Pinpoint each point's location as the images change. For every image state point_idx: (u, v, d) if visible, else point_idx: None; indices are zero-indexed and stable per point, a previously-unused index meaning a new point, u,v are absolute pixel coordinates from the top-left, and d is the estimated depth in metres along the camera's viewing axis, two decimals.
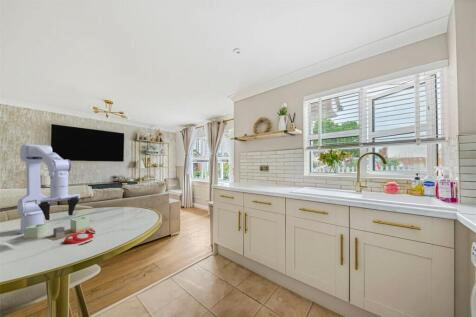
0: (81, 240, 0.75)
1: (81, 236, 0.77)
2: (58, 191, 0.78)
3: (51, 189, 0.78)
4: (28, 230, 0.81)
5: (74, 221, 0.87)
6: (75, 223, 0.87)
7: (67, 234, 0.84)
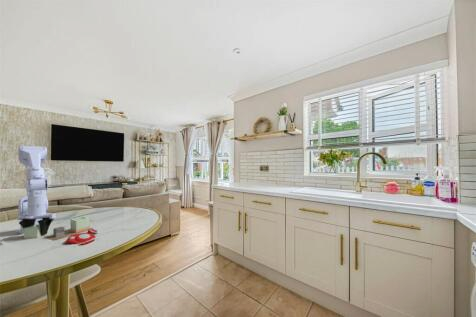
0: (83, 240, 0.75)
1: (83, 236, 0.77)
2: (28, 210, 0.81)
3: None
4: (28, 230, 0.81)
5: (74, 221, 0.87)
6: (75, 223, 0.87)
7: (67, 234, 0.84)
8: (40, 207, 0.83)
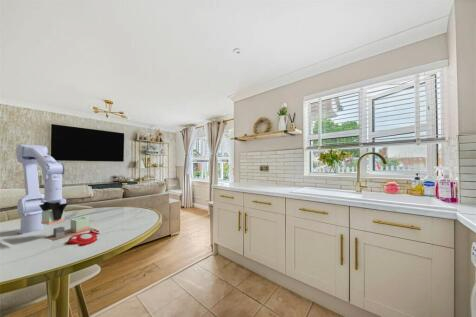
0: (84, 240, 0.75)
1: (85, 236, 0.76)
2: (44, 194, 0.81)
3: None
4: (44, 214, 0.81)
5: (74, 221, 0.87)
6: (75, 223, 0.87)
7: (67, 234, 0.84)
8: (53, 191, 0.81)
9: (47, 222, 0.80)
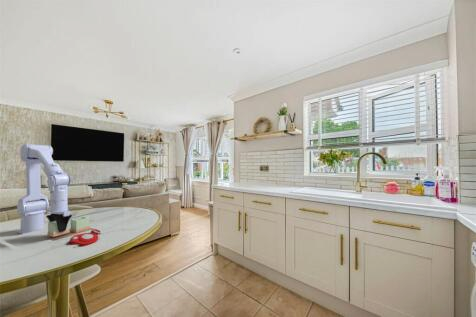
0: (86, 241, 0.75)
1: (86, 236, 0.76)
2: (50, 205, 0.81)
3: None
4: (49, 225, 0.81)
5: (74, 221, 0.87)
6: (75, 223, 0.87)
7: (67, 234, 0.84)
8: (58, 203, 0.81)
9: (52, 234, 0.79)
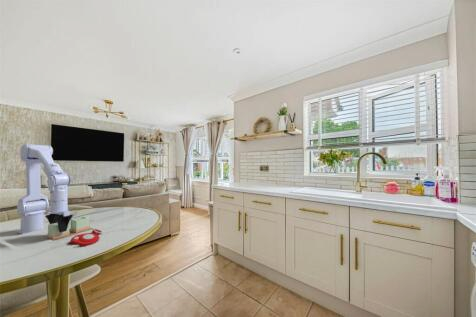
0: (87, 241, 0.75)
1: (87, 237, 0.76)
2: (50, 205, 0.81)
3: None
4: (49, 227, 0.81)
5: (74, 221, 0.87)
6: (75, 223, 0.87)
7: None
8: (58, 203, 0.81)
9: (52, 236, 0.79)
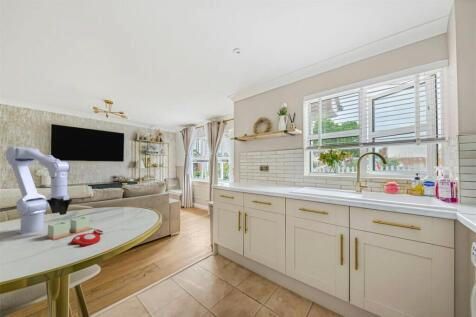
0: (88, 241, 0.75)
1: (88, 237, 0.76)
2: (51, 190, 0.87)
3: None
4: (49, 227, 0.81)
5: (74, 221, 0.87)
6: (75, 223, 0.87)
7: None
8: (58, 188, 0.87)
9: (52, 236, 0.79)
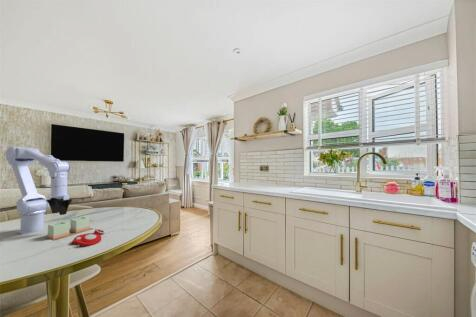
0: (89, 241, 0.74)
1: (89, 237, 0.76)
2: (51, 190, 0.87)
3: None
4: (49, 227, 0.81)
5: (74, 221, 0.87)
6: (75, 223, 0.87)
7: None
8: (58, 188, 0.87)
9: (52, 236, 0.79)
